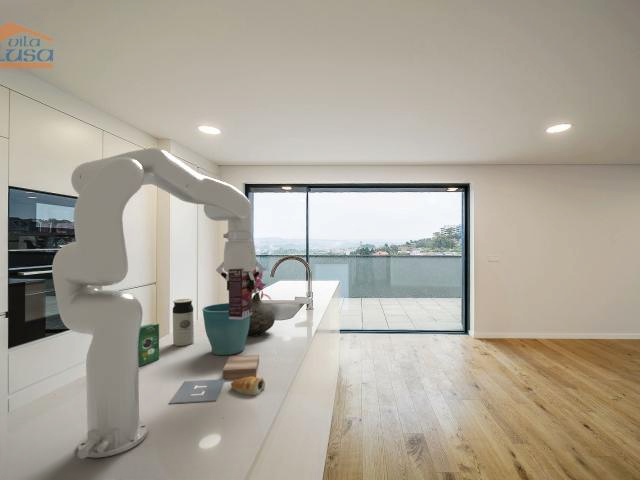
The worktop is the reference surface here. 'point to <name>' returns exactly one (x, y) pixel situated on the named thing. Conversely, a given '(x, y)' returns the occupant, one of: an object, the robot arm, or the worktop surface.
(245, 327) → the flower pot
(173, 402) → the gray card
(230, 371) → the light tan stand
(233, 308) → the supplement box
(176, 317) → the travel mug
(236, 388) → the pastry
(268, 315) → the vase
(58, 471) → the worktop surface
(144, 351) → the coffee box
